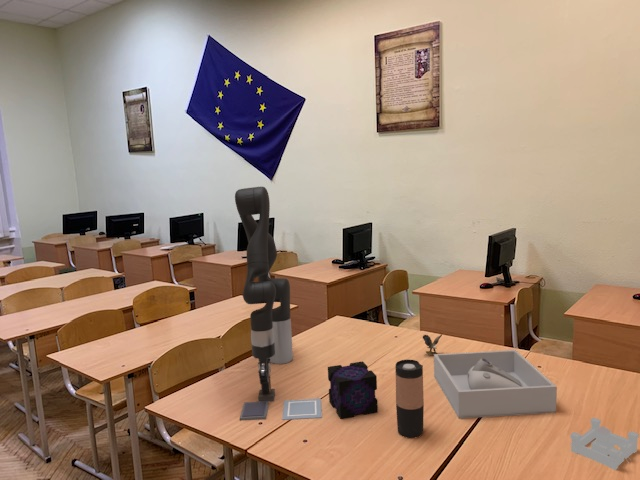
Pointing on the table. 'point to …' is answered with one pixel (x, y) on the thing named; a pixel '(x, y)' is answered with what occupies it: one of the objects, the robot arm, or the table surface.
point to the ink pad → (254, 410)
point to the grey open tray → (498, 401)
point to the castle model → (604, 445)
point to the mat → (302, 409)
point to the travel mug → (409, 398)
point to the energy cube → (352, 390)
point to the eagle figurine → (431, 344)
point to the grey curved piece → (490, 377)
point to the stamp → (269, 396)
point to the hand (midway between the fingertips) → (266, 390)
